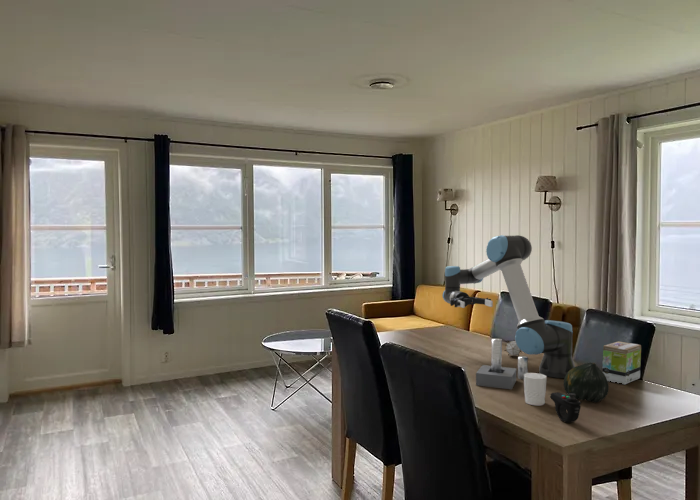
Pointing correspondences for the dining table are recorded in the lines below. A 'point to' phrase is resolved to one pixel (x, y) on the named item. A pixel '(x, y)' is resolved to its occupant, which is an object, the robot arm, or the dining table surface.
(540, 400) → the white cup
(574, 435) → the dining table surface
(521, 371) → the short steel pin
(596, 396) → the squash
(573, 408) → the controller
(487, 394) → the dining table surface
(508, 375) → the charcoal collar block
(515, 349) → the game die
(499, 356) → the long steel pin
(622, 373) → the tea box
